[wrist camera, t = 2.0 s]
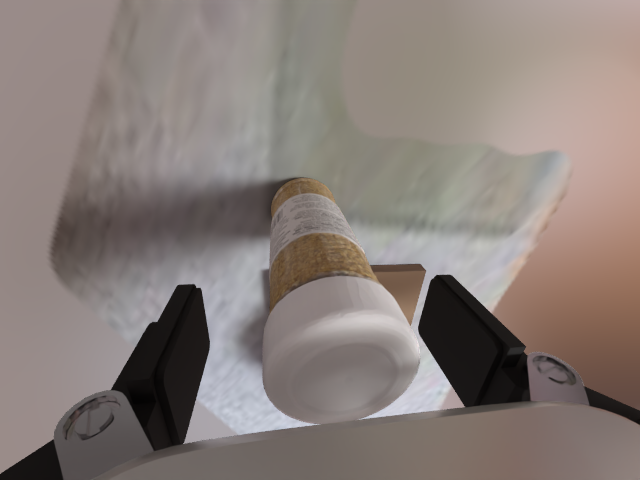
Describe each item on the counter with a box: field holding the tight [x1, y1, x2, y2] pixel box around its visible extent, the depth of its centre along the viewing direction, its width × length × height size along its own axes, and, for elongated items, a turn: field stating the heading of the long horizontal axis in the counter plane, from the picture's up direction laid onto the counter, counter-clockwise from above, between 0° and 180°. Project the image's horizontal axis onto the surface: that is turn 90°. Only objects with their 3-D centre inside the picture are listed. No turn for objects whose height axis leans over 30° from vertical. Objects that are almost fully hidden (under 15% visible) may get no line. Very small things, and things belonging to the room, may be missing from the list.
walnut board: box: [370, 264, 426, 327], centre depth 25 cm, size 14×12×1 cm
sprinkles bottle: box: [262, 178, 420, 424], centre depth 13 cm, size 5×5×14 cm
